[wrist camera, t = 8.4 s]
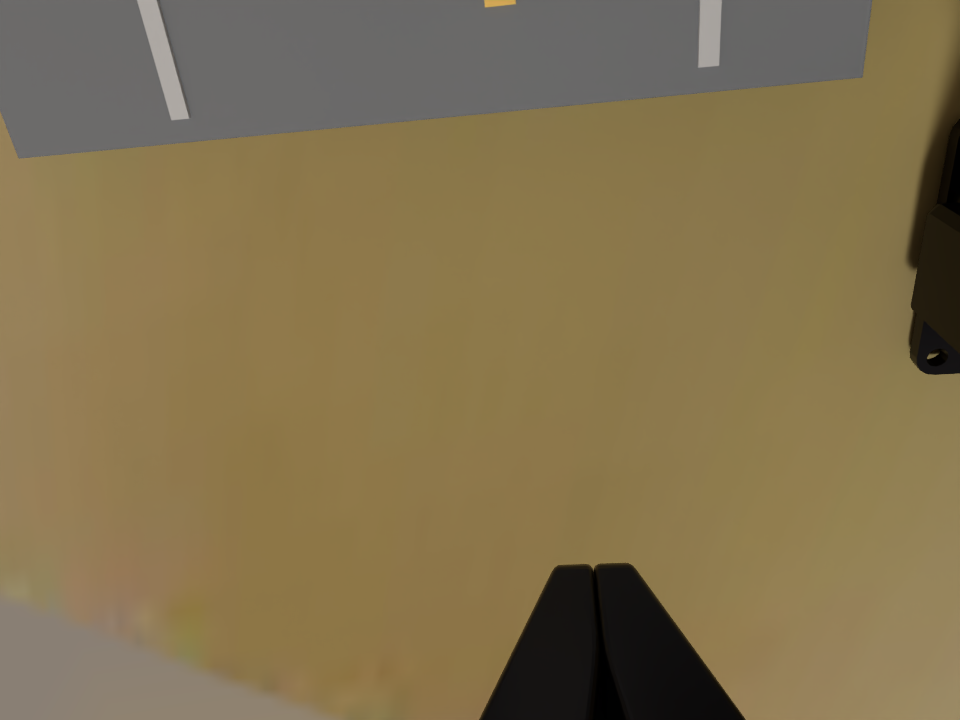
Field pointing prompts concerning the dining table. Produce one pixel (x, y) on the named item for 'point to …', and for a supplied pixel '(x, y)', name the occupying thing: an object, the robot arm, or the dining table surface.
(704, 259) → the dining table surface
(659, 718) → the robot arm
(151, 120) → the mixer panel
